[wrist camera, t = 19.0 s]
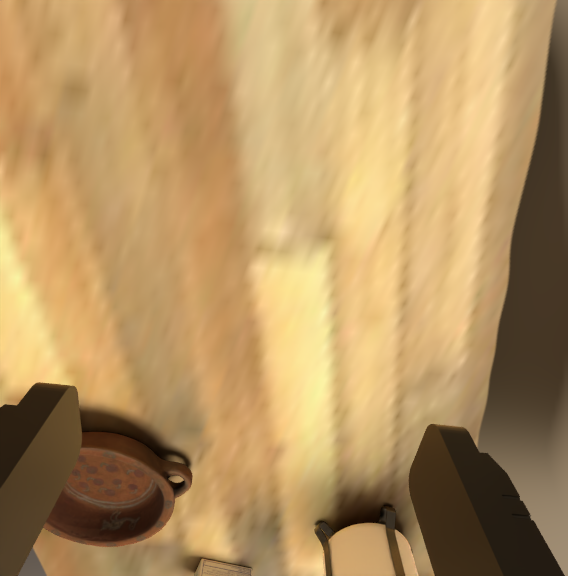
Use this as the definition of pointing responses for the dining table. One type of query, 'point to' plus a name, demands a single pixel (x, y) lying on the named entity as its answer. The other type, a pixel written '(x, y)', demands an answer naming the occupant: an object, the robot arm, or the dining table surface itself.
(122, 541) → the dish
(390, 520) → the coffee press
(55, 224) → the dining table surface
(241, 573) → the medicine box
